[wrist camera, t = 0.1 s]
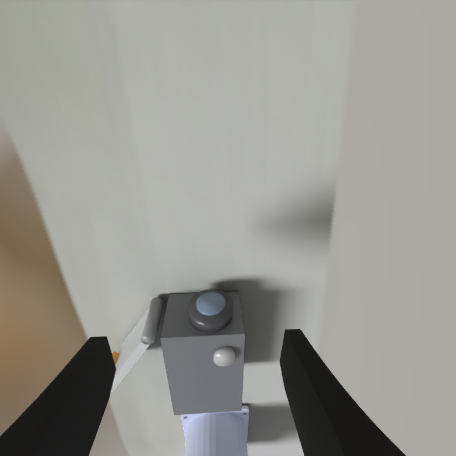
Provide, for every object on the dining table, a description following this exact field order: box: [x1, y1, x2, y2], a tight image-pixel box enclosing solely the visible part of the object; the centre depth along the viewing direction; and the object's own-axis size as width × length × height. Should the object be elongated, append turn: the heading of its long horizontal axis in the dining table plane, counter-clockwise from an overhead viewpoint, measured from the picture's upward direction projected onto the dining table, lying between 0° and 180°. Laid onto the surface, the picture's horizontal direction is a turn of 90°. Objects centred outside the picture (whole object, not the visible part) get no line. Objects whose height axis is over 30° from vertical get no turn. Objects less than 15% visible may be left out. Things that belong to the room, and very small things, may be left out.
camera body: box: [160, 290, 245, 415], centre depth 22 cm, size 11×6×5 cm, turn 0°
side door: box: [110, 298, 163, 394], centre depth 21 cm, size 8×1×4 cm, turn 145°
